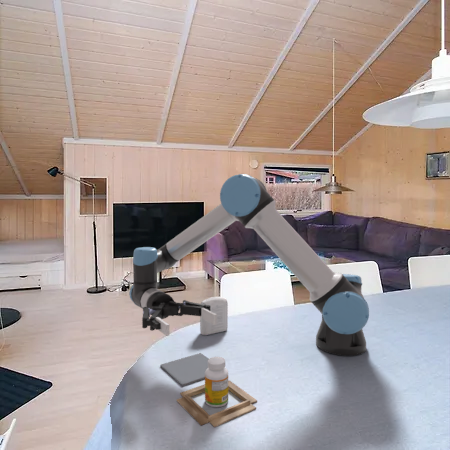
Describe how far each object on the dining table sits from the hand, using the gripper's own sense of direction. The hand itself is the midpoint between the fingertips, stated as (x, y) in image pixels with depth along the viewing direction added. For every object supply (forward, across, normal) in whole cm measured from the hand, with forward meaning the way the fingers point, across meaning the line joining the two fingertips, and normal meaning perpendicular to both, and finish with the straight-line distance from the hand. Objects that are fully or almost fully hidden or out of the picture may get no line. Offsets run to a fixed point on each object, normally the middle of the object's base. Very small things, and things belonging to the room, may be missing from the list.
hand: (192, 324), depth 87 cm
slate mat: (-6, -4, -15) cm, 17 cm away
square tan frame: (+10, 0, -15) cm, 18 cm away
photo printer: (-26, -23, -15) cm, 38 cm away
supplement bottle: (+10, 0, -15) cm, 18 cm away
